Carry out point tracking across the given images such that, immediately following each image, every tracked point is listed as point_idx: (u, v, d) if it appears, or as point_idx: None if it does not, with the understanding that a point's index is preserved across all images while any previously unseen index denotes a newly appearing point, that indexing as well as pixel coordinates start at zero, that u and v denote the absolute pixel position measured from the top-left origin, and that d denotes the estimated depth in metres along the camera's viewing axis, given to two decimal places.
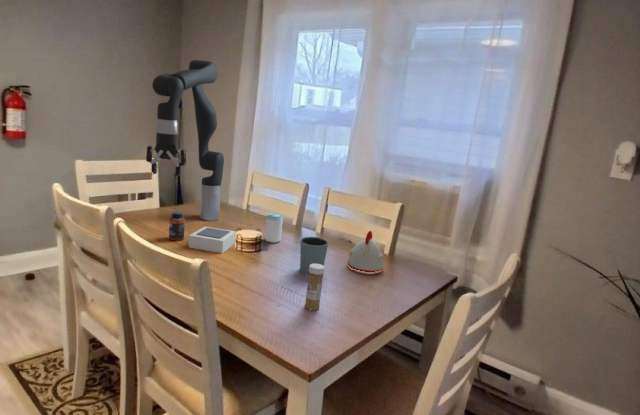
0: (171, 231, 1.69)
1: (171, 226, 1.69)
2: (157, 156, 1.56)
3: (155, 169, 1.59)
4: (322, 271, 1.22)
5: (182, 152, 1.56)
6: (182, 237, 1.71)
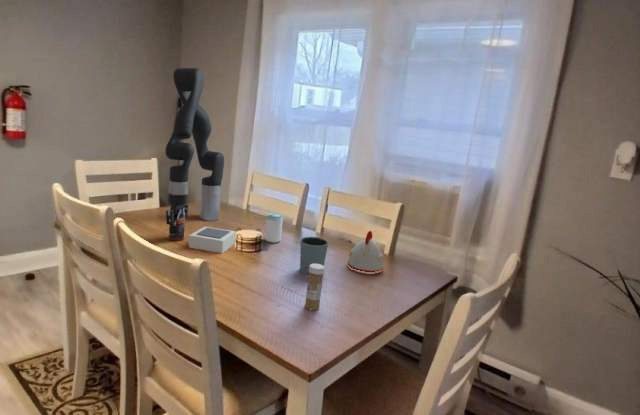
0: None
1: None
2: (178, 216, 1.68)
3: None
4: (322, 271, 1.22)
5: (187, 207, 1.76)
6: (182, 237, 1.71)
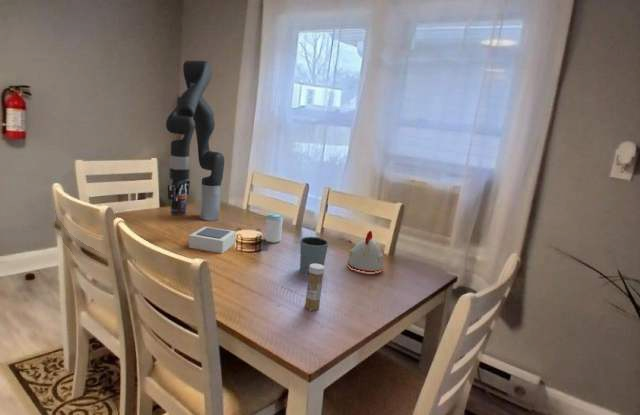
0: None
1: None
2: (180, 191, 1.66)
3: None
4: (322, 271, 1.22)
5: (189, 183, 1.73)
6: (184, 213, 1.69)
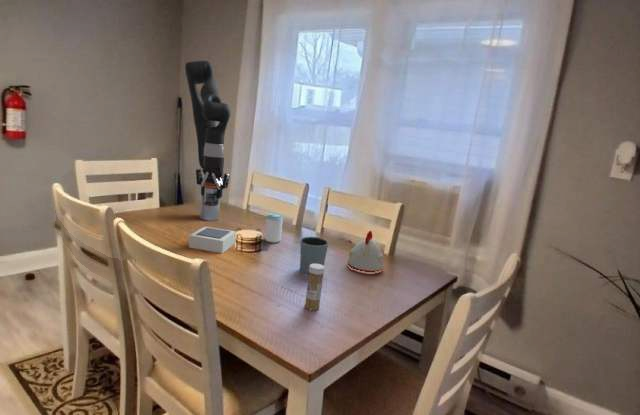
0: (216, 196, 1.64)
1: (216, 191, 1.64)
2: None
3: None
4: (322, 271, 1.22)
5: None
6: None
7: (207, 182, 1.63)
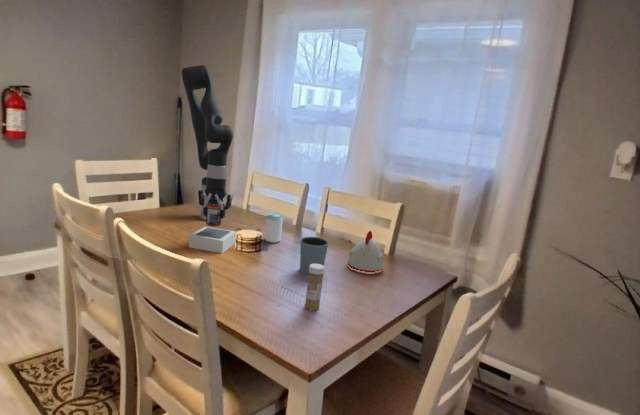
0: (219, 217, 1.66)
1: (219, 212, 1.66)
2: None
3: None
4: (322, 271, 1.22)
5: None
6: None
7: (210, 203, 1.64)
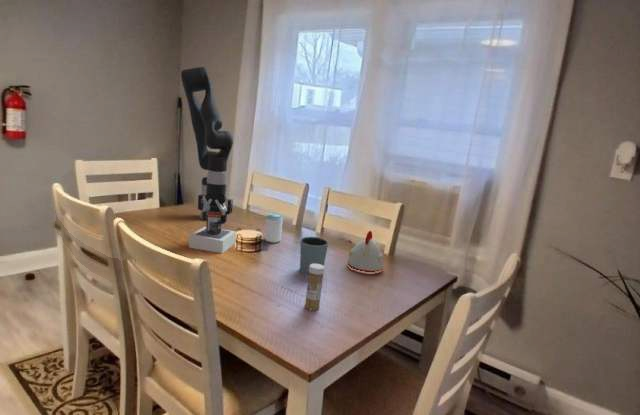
0: (219, 224, 1.67)
1: (219, 219, 1.66)
2: None
3: None
4: (322, 271, 1.22)
5: None
6: None
7: (210, 211, 1.65)
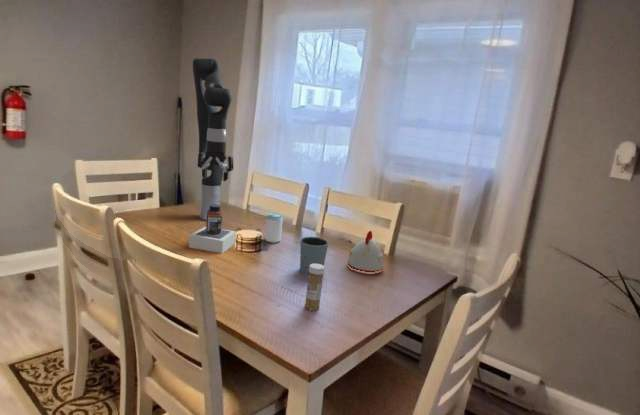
0: (219, 224, 1.67)
1: (219, 219, 1.66)
2: None
3: None
4: (322, 271, 1.22)
5: None
6: None
7: (210, 211, 1.65)
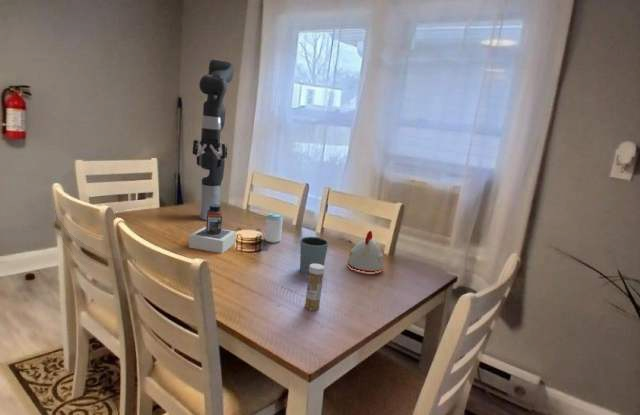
0: (219, 224, 1.67)
1: (219, 219, 1.66)
2: None
3: None
4: (322, 271, 1.22)
5: None
6: None
7: (210, 211, 1.65)
